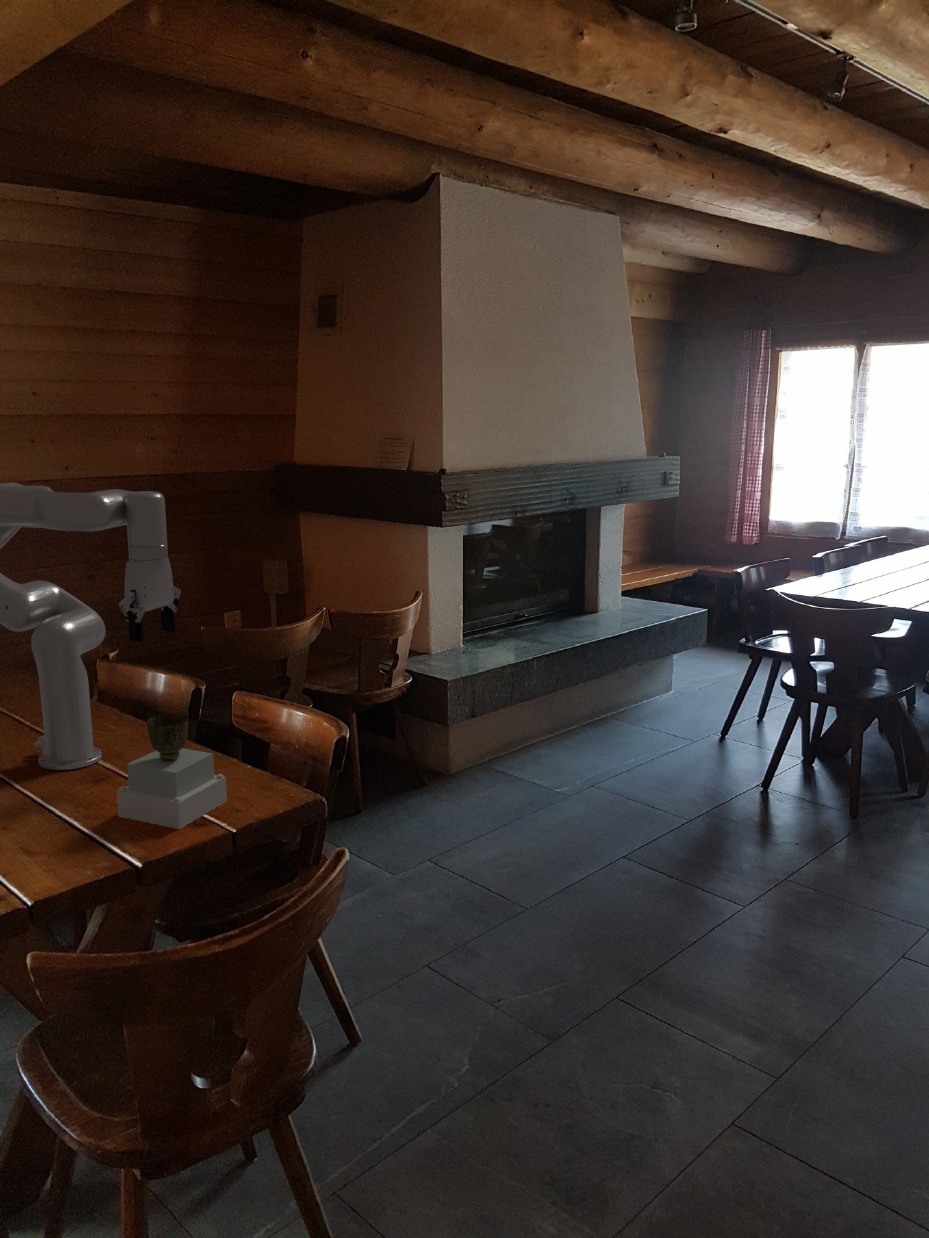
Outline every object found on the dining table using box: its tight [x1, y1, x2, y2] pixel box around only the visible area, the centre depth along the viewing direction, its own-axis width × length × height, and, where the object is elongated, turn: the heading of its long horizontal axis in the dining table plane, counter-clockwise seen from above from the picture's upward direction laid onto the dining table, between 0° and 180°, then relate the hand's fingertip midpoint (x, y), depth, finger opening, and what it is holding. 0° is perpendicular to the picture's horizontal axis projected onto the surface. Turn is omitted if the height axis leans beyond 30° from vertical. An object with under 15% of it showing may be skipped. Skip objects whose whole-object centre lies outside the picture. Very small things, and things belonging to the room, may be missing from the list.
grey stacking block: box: [116, 747, 228, 830], centre depth 184 cm, size 14×14×10 cm
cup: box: [146, 711, 189, 761], centre depth 182 cm, size 8×7×8 cm
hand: (153, 636), depth 201 cm, fingers open, 9 cm apart
